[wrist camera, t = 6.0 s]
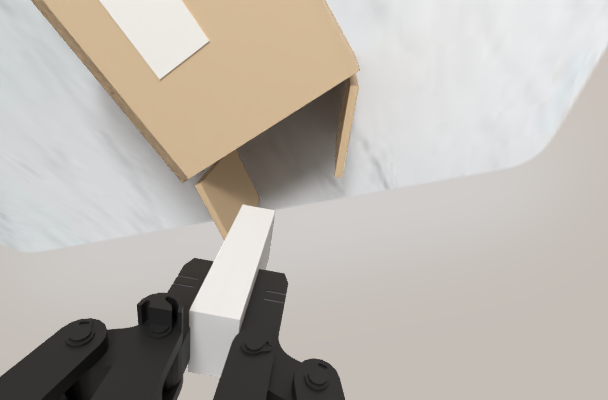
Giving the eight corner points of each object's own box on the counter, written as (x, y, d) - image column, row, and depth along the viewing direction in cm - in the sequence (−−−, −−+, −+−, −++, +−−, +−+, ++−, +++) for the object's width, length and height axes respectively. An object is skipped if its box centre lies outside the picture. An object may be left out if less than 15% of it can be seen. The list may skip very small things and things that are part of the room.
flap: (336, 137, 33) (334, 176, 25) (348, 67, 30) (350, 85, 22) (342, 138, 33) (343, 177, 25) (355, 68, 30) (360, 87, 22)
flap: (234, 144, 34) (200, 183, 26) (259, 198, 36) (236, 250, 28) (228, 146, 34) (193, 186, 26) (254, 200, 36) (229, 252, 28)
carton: (100, -27, 29) (-9, -47, 20) (237, -162, 24) (176, -264, 15) (223, 139, 34) (181, 183, 25) (354, 54, 30) (359, 70, 21)
